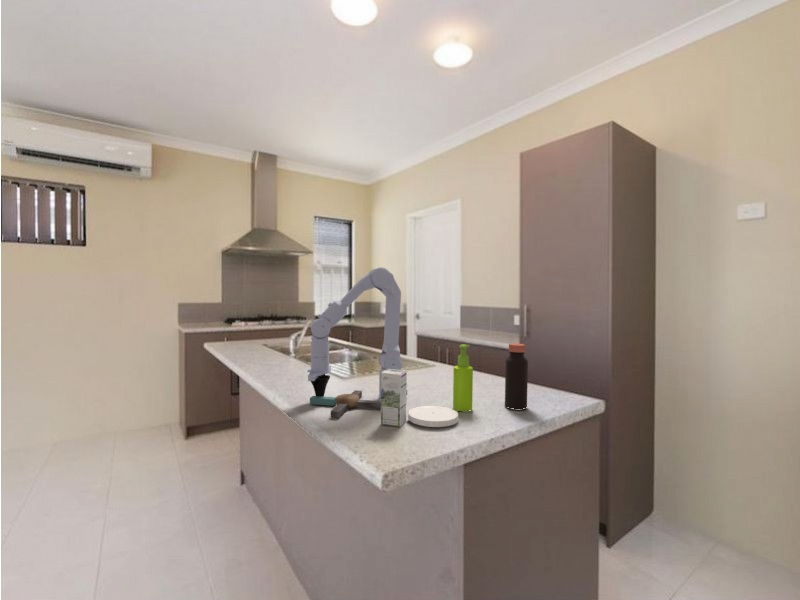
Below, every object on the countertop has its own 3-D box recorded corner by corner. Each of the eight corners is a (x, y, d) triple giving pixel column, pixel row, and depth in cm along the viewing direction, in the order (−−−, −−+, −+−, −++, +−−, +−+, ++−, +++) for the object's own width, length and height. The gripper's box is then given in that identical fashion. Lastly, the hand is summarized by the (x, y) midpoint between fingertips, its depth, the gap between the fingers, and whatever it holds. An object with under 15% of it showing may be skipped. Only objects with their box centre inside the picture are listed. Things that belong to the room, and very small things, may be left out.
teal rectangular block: (336, 403, 125) (336, 397, 125) (334, 405, 123) (334, 399, 123) (312, 402, 127) (312, 395, 127) (309, 404, 124) (309, 397, 124)
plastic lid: (419, 411, 120) (419, 403, 120) (464, 418, 114) (464, 409, 114) (399, 425, 107) (399, 416, 107) (448, 434, 101) (448, 424, 101)
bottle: (530, 407, 125) (532, 344, 124) (520, 412, 120) (522, 346, 119) (510, 403, 129) (512, 342, 129) (500, 407, 124) (501, 344, 124)
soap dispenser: (475, 407, 124) (476, 344, 124) (469, 413, 118) (470, 346, 118) (457, 404, 127) (458, 342, 126) (450, 410, 121) (451, 345, 120)
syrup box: (406, 421, 110) (407, 369, 110) (399, 427, 105) (400, 373, 104) (387, 418, 112) (388, 368, 112) (379, 425, 106) (380, 371, 106)
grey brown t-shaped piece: (392, 398, 133) (392, 389, 133) (376, 421, 110) (376, 410, 109) (348, 395, 136) (348, 387, 136) (323, 417, 112) (323, 407, 112)
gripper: (316, 352, 134) (316, 392, 135) (298, 359, 120) (298, 404, 120) (336, 353, 133) (336, 393, 134) (320, 360, 119) (320, 405, 119)
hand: (319, 398), depth 127 cm, fingers closed
